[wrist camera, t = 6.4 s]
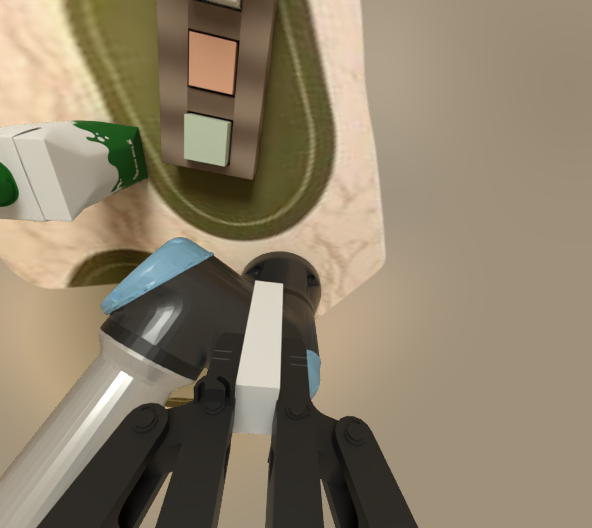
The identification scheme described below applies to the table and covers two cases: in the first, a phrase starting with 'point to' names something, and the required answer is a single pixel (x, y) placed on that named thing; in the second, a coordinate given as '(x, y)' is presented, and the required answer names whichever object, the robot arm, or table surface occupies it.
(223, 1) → the cream button
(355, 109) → the table surface
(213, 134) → the sage button
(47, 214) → the milk carton
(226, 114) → the button console
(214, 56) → the terracotta button
